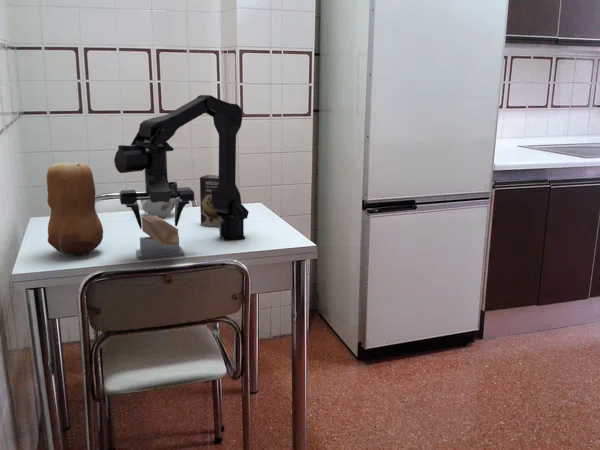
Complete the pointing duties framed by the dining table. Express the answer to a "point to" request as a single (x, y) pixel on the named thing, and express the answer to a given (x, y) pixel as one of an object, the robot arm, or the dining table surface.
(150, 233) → the batten
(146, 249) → the ridge
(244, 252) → the dining table surface
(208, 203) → the coffee box
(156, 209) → the teacup
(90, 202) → the butternut squash
